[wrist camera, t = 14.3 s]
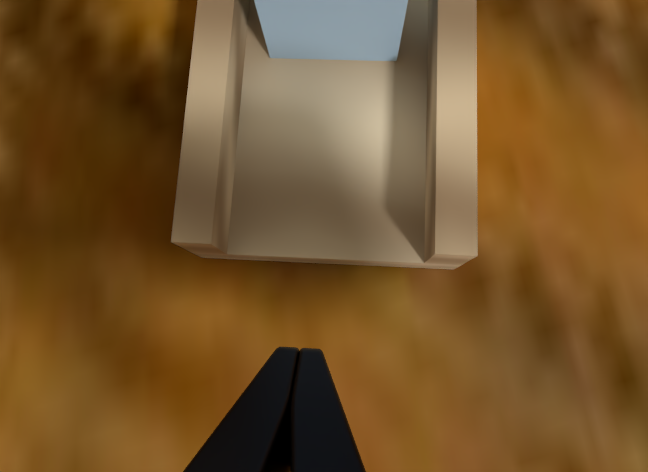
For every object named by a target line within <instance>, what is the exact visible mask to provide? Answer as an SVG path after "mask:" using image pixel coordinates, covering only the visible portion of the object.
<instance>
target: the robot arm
mask: <svg viewBox="0 0 648 472" xmlns="http://www.w3.org/2000/svg"><path fill="white" fill-rule="evenodd" d="M183 472H366V471H365V468H364V465H363V463H362V460H361V457H360V454H359V452H358V449H357V446H356V443H355V440H354V438H353V435H352V432H351V429H350V427H349V424H348V421H347V418H346V415H345V413H344V410H343V407H342V404H341V402H340V399H339V396H338V393H337V391H336V388H335V385H334V382H333V379H332V377H331V374H330V371H329V368H328V366H327V363H326V360H325V357H324V354H323V352H322V351H321V350H320V349H312V348H302V349H301V350H300V351H299V349H298V348H294V347H279V348H277V349H276V350H275V351H274V352H273V354H272V355H271V356H270V358H269V359H268V360H267V362H266V363H265V364H264V366H263V367H262V368H261V370H260V371H259V372H258V374H257V375H256V376H255V377H254V379H253V380H252V381H251V383H250V384H249V385H248V387H247V388H246V389H245V391H244V392H243V393H242V395H241V396H240V397H239V399H238V400H237V401H236V403H235V404H234V405H233V407H232V408H231V409H230V410H229V412H228V413H227V414H226V416H225V417H224V418H223V420H222V421H221V422H220V424H219V425H218V426H217V428H216V429H215V430H214V432H213V433H212V434H211V436H210V437H209V438H208V439H207V441H206V442H205V443H204V445H203V446H202V447H201V449H200V450H199V451H198V453H197V454H196V455H195V457H194V458H193V459H192V461H191V462H190V463H189V465H188V466H187V467H186V468H185V470H184V471H183Z"/></svg>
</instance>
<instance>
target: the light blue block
mask: <svg viewBox="0 0 648 472" xmlns="http://www.w3.org/2000/svg"><path fill="white" fill-rule="evenodd" d="M254 2H255V5H256V9H257V13H258V16H259V20H260V23H261V27H262V31H263V34H264V38H265V41H266V45H267V49H268V52H269V56H270V58H284V59H325V60H365V61H397V57H398V51H399V46H400V41H401V35H402V30H403V25H404V19H405V14H406V9H407V4H408V0H254Z"/></svg>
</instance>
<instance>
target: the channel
mask: <svg viewBox="0 0 648 472" xmlns="http://www.w3.org/2000/svg"><path fill="white" fill-rule="evenodd" d="M171 242H172V243H174V244H176V245H178V246H180V247H181V248H183V249H185V250H187V251H189V252H191V253H193V254H195V255H197V256H199V257H201V258H219V259H241V260H262V261H284V262H305V263H327V264H348V265H370V266H392V267H413V268H435V269H455V268H457V267H459V266H461V265H462V264H464V263H466V262H468V261H469V260H471V259H473V258H475V257H476V256H478V240H477V18H476V0H408V4H407V9H406V14H405V19H404V25H403V30H402V35H401V41H400V46H399V51H398V57H397V61H365V60H325V59H284V58H270V56H269V52H268V49H267V45H266V41H265V38H264V34H263V31H262V27H261V23H260V20H259V16H258V13H257V9H256V5H255V2H254V0H198V1H197V10H196V19H195V28H194V37H193V46H192V55H191V64H190V73H189V82H188V91H187V100H186V109H185V118H184V127H183V136H182V146H181V155H180V164H179V173H178V182H177V191H176V200H175V209H174V218H173V227H172V236H171Z"/></svg>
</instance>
